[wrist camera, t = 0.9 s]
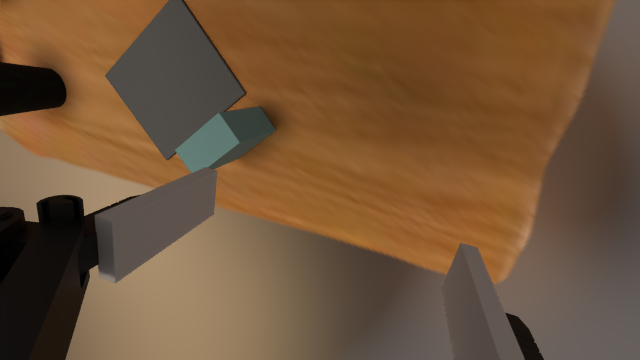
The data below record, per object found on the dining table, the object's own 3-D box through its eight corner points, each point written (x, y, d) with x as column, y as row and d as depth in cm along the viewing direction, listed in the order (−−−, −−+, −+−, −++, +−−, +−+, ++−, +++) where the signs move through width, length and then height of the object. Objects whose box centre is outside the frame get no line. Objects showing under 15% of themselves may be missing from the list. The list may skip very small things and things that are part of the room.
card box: (221, 135, 41) (173, 149, 32) (259, 105, 38) (217, 111, 30) (237, 158, 41) (194, 177, 33) (275, 130, 38) (239, 142, 30)
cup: (37, 49, 45) (-85, 37, 33) (77, 81, 44) (-33, 80, 33) (27, 94, 48) (-88, 96, 36) (64, 124, 47) (-40, 136, 36)
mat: (107, 75, 43) (104, 75, 42) (178, -7, 37) (176, -8, 36) (168, 159, 44) (166, 160, 44) (246, 93, 38) (244, 93, 38)
